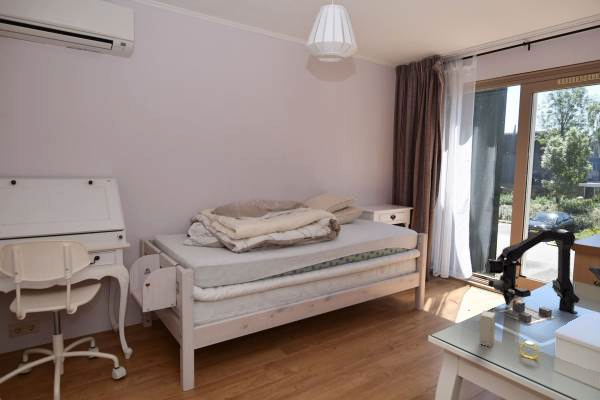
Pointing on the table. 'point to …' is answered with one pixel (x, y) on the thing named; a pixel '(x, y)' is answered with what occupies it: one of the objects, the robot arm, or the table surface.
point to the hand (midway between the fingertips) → (507, 304)
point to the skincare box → (487, 328)
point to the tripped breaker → (518, 306)
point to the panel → (530, 315)
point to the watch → (529, 345)
